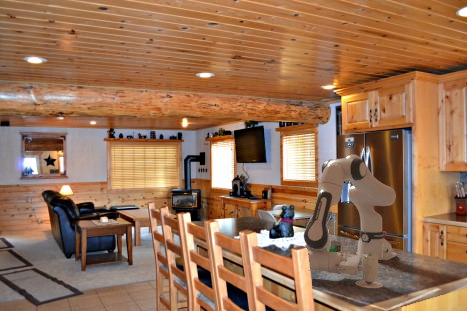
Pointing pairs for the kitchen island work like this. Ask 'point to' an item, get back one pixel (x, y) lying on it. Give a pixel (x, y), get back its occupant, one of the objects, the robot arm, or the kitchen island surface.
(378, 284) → the saucer
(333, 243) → the food container
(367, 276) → the lidded octagonal canister
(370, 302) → the kitchen island surface
